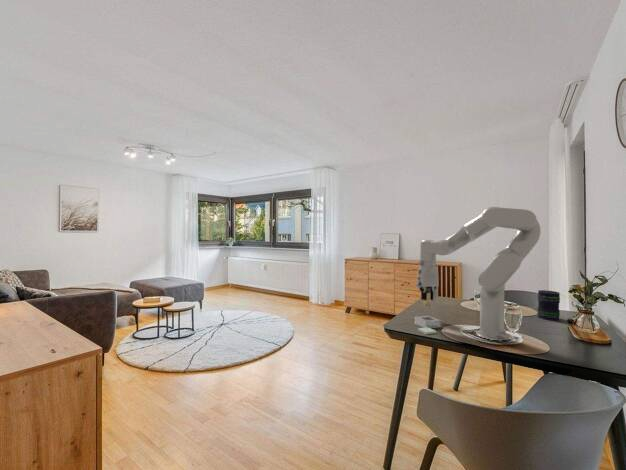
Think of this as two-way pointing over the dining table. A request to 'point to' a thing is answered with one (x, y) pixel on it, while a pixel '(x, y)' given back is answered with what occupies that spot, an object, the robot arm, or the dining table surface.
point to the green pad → (427, 330)
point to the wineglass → (433, 299)
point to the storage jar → (548, 305)
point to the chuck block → (427, 321)
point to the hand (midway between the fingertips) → (427, 299)
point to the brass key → (427, 297)
